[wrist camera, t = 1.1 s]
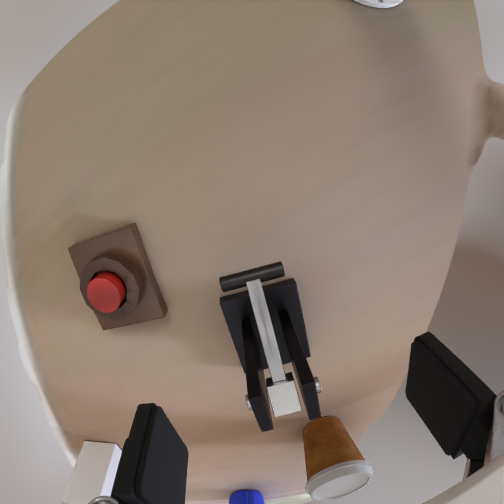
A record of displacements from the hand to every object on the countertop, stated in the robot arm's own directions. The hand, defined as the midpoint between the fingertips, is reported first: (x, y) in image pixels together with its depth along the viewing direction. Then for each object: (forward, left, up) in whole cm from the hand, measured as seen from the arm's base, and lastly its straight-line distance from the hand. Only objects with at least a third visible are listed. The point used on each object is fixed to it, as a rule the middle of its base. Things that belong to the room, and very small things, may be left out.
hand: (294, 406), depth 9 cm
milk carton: (+31, -35, -21) cm, 51 cm away
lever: (+6, -1, -13) cm, 14 cm away
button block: (0, -15, -21) cm, 26 cm away
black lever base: (+10, -1, -21) cm, 23 cm away
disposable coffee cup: (+32, +3, -21) cm, 38 cm away
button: (0, -15, -18) cm, 23 cm away
